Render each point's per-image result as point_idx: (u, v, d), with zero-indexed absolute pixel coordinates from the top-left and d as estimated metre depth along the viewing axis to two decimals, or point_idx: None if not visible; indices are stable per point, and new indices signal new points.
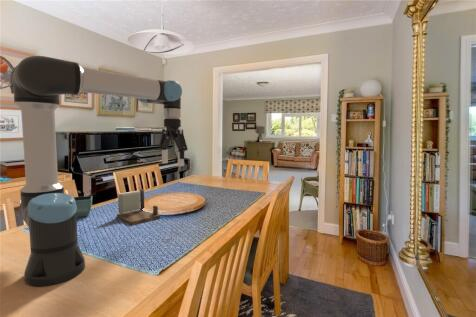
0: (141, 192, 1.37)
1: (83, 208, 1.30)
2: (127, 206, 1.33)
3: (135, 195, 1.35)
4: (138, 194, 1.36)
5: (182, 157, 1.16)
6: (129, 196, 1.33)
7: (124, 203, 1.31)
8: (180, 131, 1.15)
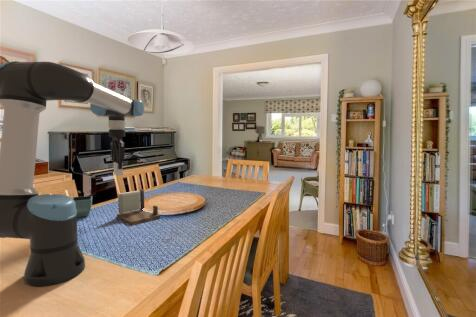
0: (141, 192, 1.37)
1: (83, 208, 1.30)
2: (127, 206, 1.33)
3: (135, 195, 1.35)
4: (138, 194, 1.36)
5: (120, 167, 1.32)
6: (129, 196, 1.33)
7: (124, 203, 1.31)
8: (122, 144, 1.29)
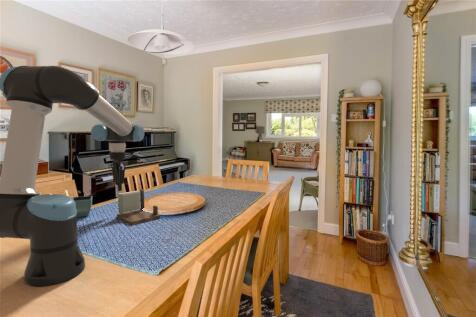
0: (141, 192, 1.37)
1: (83, 208, 1.30)
2: (127, 206, 1.33)
3: (135, 195, 1.35)
4: (138, 194, 1.36)
5: (120, 189, 1.35)
6: (129, 196, 1.33)
7: (124, 203, 1.31)
8: (123, 168, 1.30)
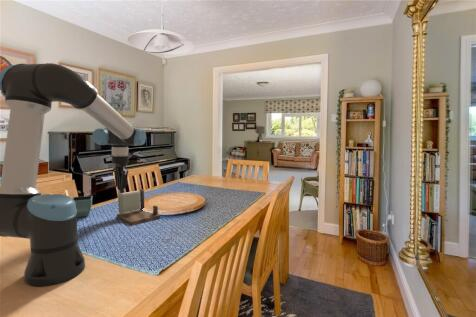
0: (141, 192, 1.37)
1: (83, 208, 1.30)
2: (127, 206, 1.33)
3: (135, 195, 1.35)
4: (138, 194, 1.36)
5: None
6: (129, 196, 1.33)
7: (124, 203, 1.31)
8: (125, 173, 1.28)
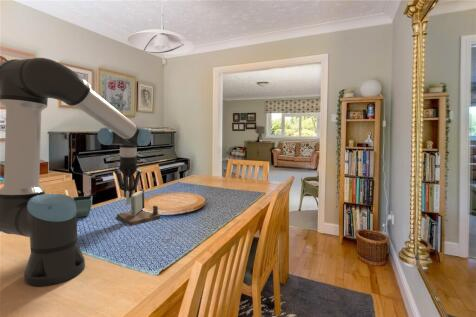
0: None
1: (83, 208, 1.30)
2: (137, 207, 1.31)
3: (140, 195, 1.34)
4: (141, 194, 1.36)
5: None
6: (138, 197, 1.31)
7: (136, 205, 1.29)
8: (140, 173, 1.28)
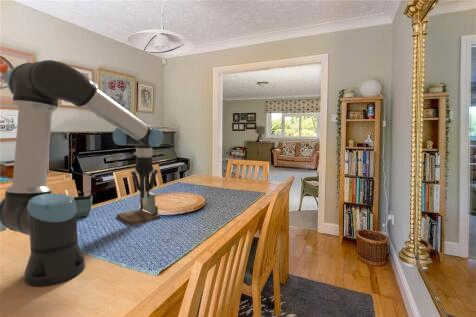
0: None
1: (83, 208, 1.30)
2: None
3: None
4: None
5: None
6: None
7: None
8: None
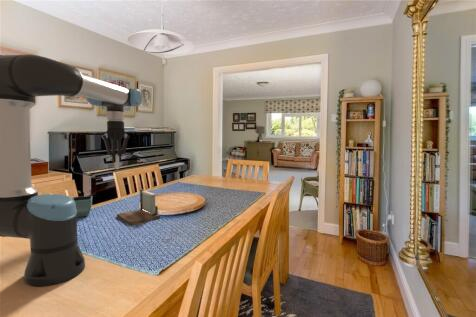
0: (141, 192, 1.37)
1: (83, 208, 1.30)
2: None
3: None
4: None
5: None
6: None
7: None
8: None
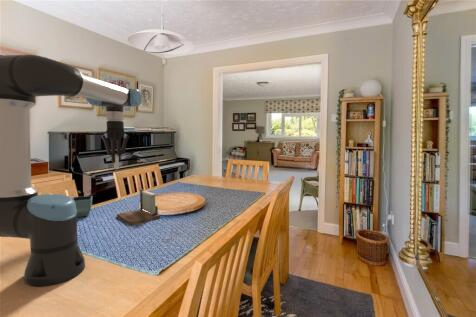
0: (141, 192, 1.37)
1: (83, 208, 1.30)
2: None
3: None
4: None
5: None
6: None
7: None
8: None
